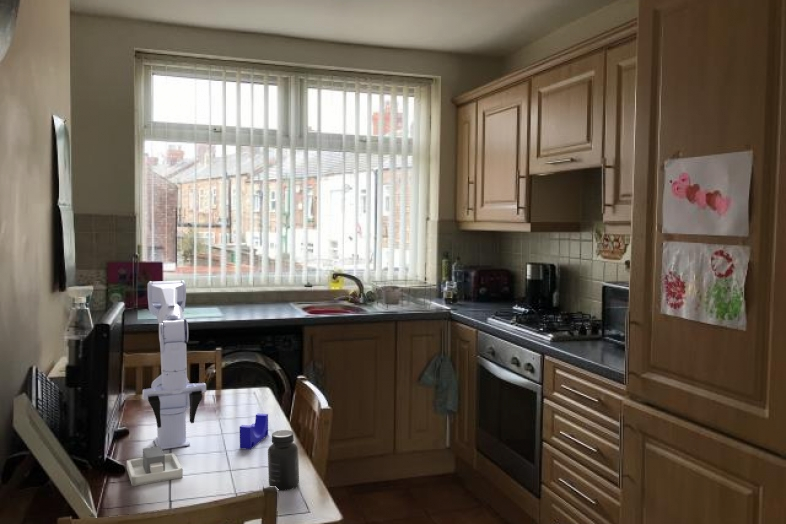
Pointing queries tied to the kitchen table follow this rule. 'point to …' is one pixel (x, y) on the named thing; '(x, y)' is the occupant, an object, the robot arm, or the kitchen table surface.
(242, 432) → the blue u-shaped cradle block
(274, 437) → the supplement bottle
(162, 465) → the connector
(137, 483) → the tray
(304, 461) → the kitchen table surface
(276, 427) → the kitchen table surface
